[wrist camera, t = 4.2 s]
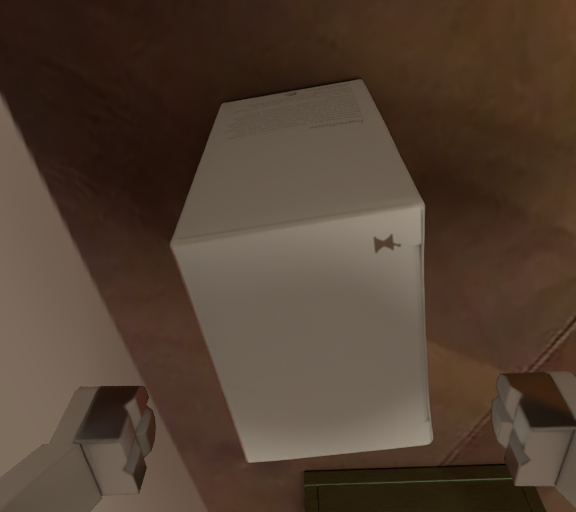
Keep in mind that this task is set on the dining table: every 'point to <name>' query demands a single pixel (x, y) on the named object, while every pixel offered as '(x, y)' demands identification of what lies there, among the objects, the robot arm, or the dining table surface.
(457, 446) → the dining table surface
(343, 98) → the small box
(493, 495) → the open box
